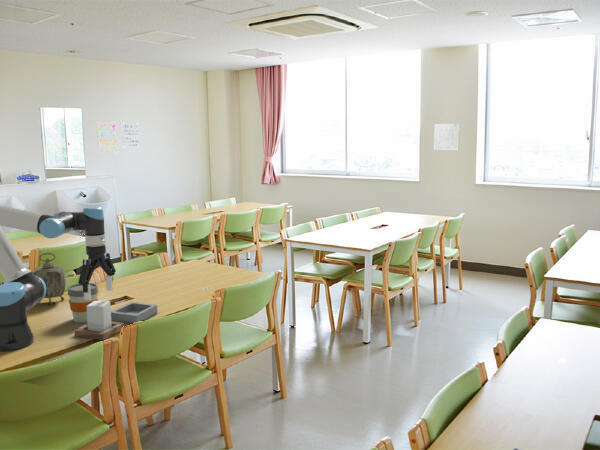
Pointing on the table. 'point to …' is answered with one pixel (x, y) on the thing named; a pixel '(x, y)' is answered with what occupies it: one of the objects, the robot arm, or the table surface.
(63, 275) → the tabletop clock
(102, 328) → the supplement box
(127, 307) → the grey tray
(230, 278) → the table surface
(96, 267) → the robot arm
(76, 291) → the reusable coffee cup
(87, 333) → the walnut collar
